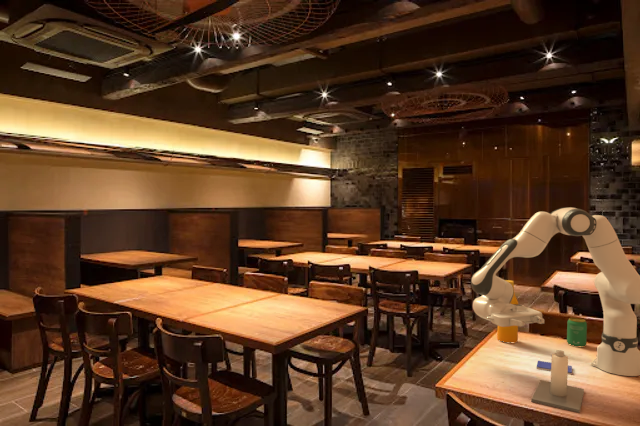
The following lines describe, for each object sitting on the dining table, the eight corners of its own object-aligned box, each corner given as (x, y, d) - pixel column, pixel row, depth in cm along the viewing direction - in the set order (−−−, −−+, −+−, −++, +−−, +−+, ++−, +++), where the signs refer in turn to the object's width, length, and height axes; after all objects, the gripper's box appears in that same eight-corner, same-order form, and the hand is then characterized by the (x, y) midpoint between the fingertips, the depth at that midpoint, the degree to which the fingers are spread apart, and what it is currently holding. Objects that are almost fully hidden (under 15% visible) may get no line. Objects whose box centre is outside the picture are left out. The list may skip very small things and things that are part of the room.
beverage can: (587, 344, 216) (588, 319, 216) (584, 348, 210) (584, 322, 210) (569, 341, 221) (569, 316, 221) (564, 344, 215) (565, 319, 215)
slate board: (540, 382, 169) (540, 379, 169) (584, 391, 161) (584, 388, 161) (531, 401, 152) (531, 398, 152) (579, 413, 144) (579, 409, 144)
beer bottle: (516, 344, 214) (517, 283, 213) (495, 341, 219) (496, 281, 218) (519, 340, 222) (520, 280, 221) (499, 336, 227) (500, 278, 226)
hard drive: (571, 365, 184) (537, 360, 190) (571, 371, 177) (536, 366, 183) (571, 369, 184) (537, 363, 190) (571, 375, 177) (536, 369, 183)
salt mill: (551, 389, 160) (552, 348, 160) (567, 393, 157) (569, 350, 157) (549, 394, 156) (551, 351, 155) (565, 398, 153) (567, 354, 153)
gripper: (484, 308, 176) (510, 317, 163) (525, 304, 184) (553, 311, 171) (484, 325, 177) (510, 334, 164) (525, 319, 184) (553, 328, 171)
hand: (533, 322), depth 167 cm, fingers open, 8 cm apart
